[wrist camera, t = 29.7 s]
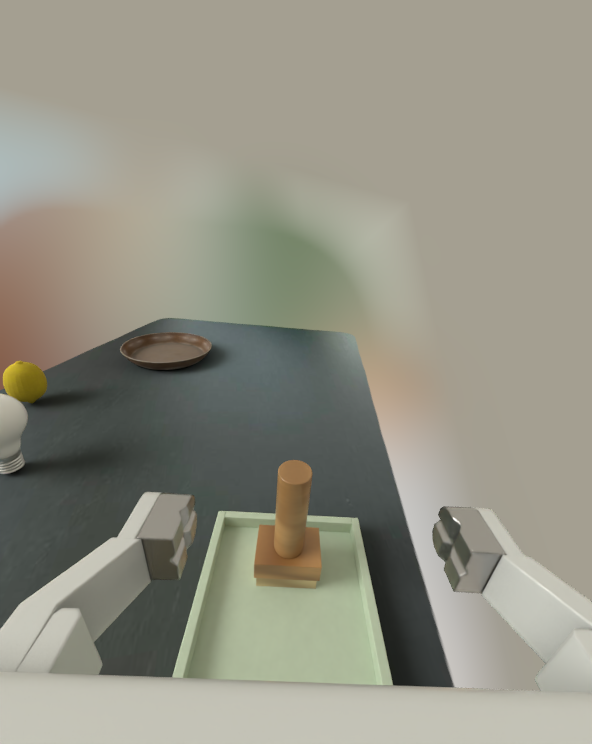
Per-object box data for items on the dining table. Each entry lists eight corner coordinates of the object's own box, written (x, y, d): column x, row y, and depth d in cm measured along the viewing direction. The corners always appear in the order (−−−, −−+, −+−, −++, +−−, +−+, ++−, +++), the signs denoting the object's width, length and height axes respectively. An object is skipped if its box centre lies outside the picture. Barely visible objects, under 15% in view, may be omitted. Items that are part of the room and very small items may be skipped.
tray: (355, 530, 35) (357, 517, 34) (446, 1003, 14) (460, 1002, 13) (219, 523, 35) (218, 510, 34) (92, 1000, 13) (81, 998, 12)
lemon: (59, 396, 56) (48, 356, 53) (32, 412, 51) (17, 369, 48) (32, 393, 56) (18, 353, 53) (2, 408, 51) (-15, 365, 48)
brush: (315, 550, 32) (329, 456, 27) (317, 591, 28) (334, 492, 23) (258, 547, 32) (261, 452, 26) (253, 588, 28) (255, 488, 23)
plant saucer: (226, 349, 83) (225, 338, 82) (182, 381, 65) (180, 367, 63) (160, 339, 87) (158, 327, 86) (101, 365, 69) (98, 352, 67)
